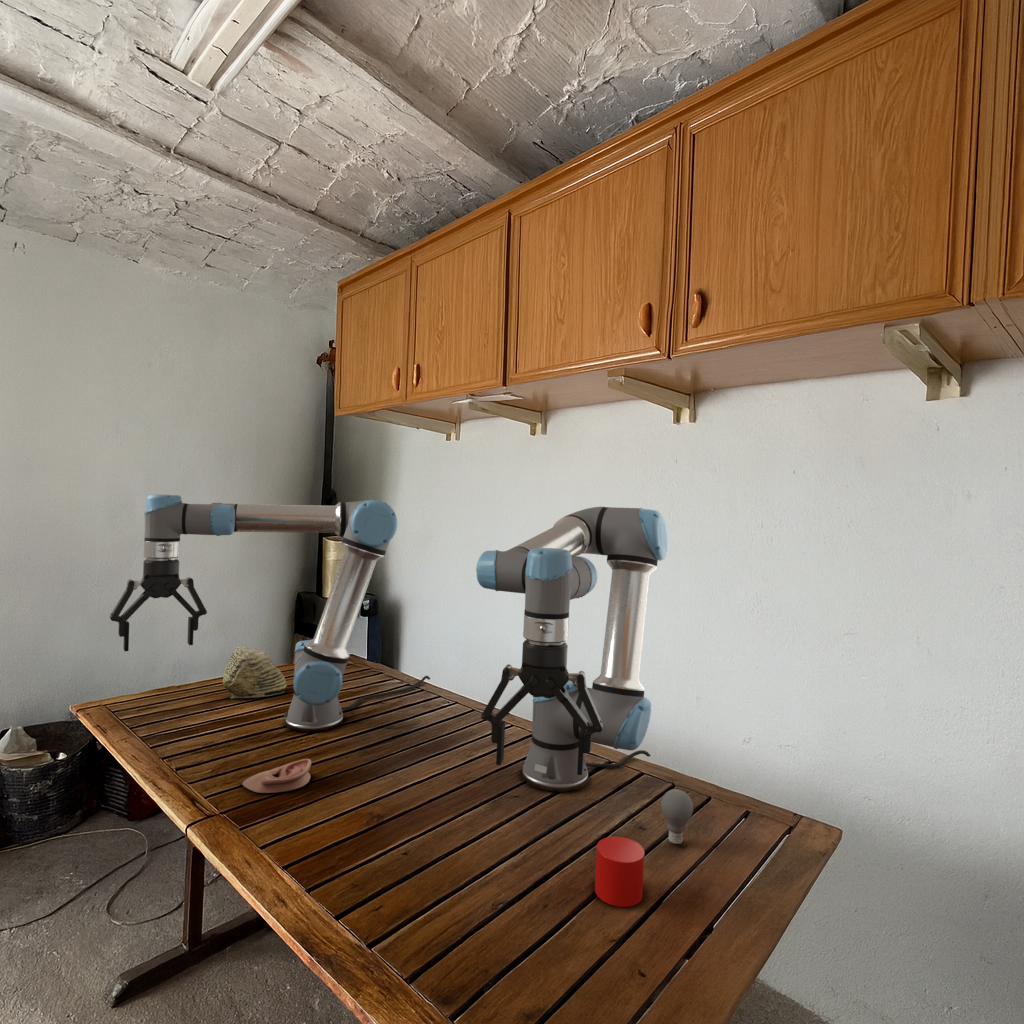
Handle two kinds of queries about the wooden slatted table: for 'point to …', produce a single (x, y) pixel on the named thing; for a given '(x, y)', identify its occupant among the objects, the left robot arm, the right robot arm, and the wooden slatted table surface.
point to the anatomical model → (280, 778)
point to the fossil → (252, 674)
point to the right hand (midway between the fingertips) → (539, 767)
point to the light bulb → (676, 813)
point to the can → (619, 871)
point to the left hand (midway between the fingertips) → (158, 647)
